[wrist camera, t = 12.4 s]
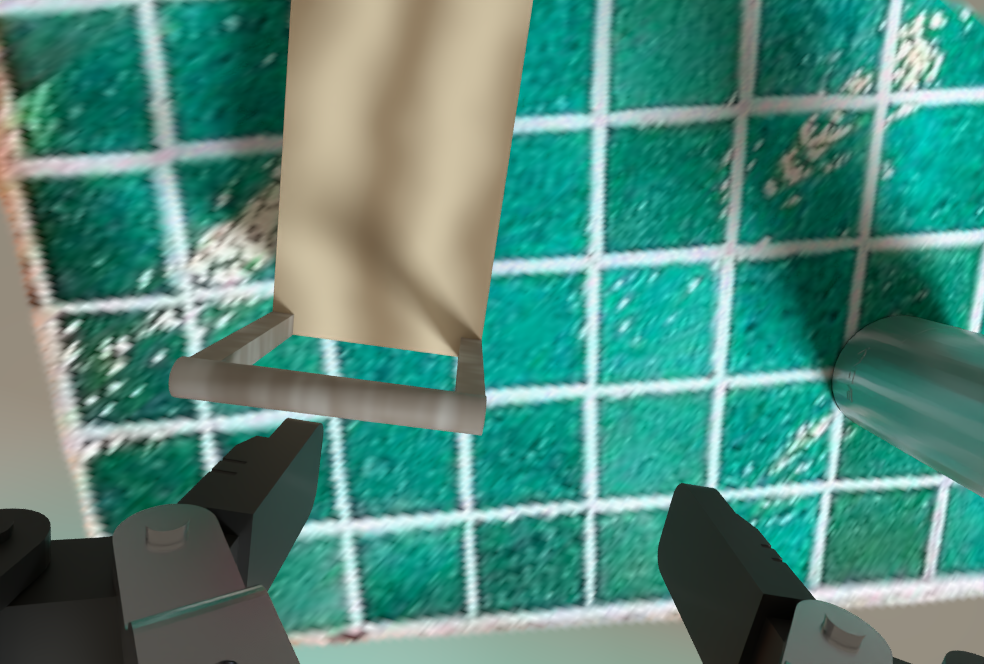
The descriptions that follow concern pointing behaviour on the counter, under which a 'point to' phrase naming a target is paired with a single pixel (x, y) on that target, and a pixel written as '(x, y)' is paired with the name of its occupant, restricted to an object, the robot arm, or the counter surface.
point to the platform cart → (383, 206)
